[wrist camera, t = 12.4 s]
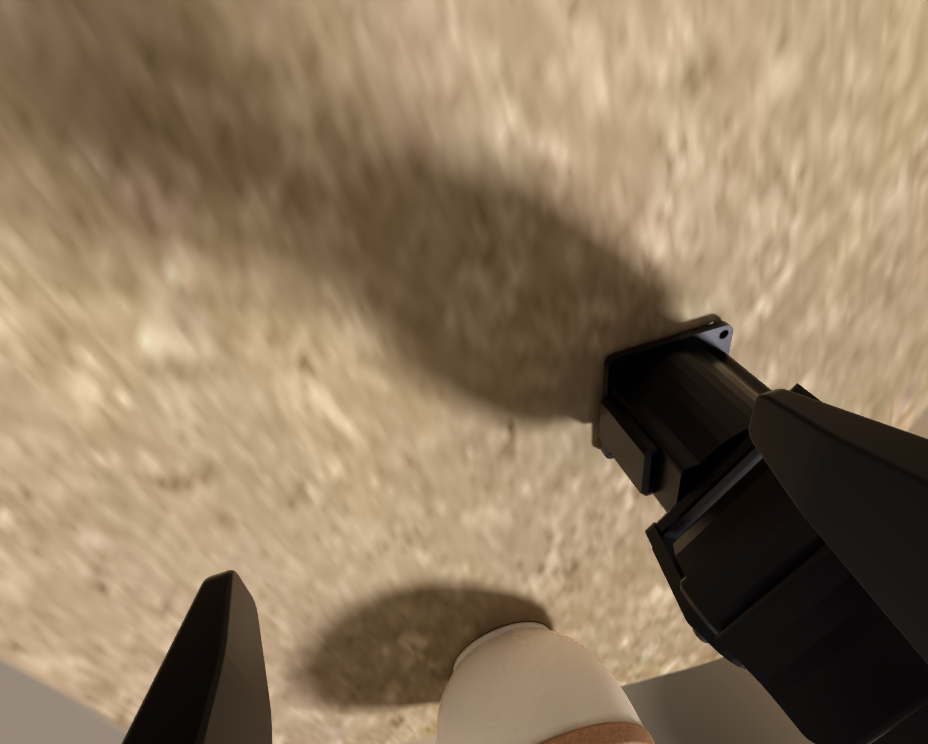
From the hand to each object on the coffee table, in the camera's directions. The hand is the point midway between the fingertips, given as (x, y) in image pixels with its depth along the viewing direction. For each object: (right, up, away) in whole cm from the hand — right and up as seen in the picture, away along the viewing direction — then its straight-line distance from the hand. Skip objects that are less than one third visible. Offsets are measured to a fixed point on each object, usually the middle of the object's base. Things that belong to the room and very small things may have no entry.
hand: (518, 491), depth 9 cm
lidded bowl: (+2, -17, +30) cm, 35 cm away
